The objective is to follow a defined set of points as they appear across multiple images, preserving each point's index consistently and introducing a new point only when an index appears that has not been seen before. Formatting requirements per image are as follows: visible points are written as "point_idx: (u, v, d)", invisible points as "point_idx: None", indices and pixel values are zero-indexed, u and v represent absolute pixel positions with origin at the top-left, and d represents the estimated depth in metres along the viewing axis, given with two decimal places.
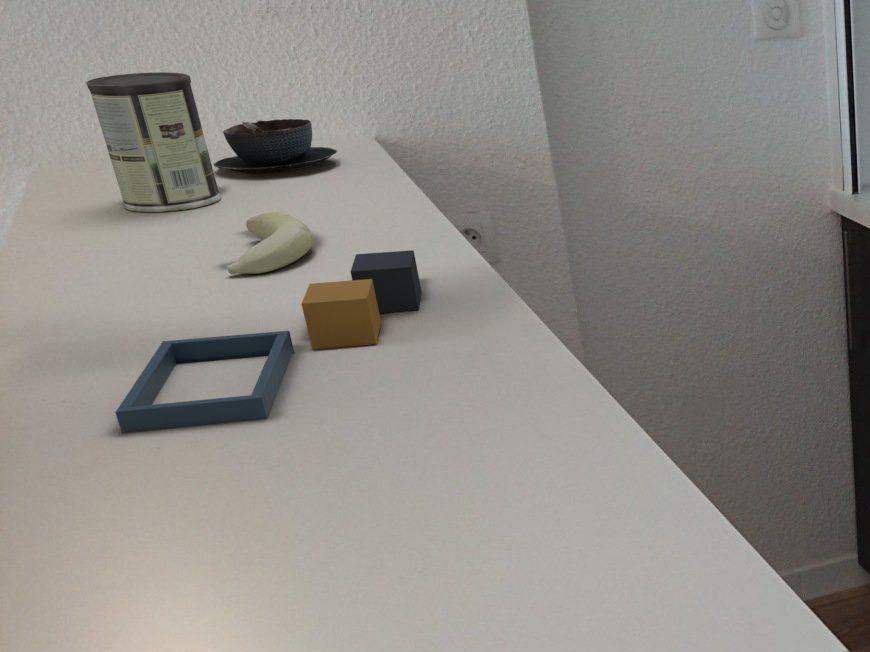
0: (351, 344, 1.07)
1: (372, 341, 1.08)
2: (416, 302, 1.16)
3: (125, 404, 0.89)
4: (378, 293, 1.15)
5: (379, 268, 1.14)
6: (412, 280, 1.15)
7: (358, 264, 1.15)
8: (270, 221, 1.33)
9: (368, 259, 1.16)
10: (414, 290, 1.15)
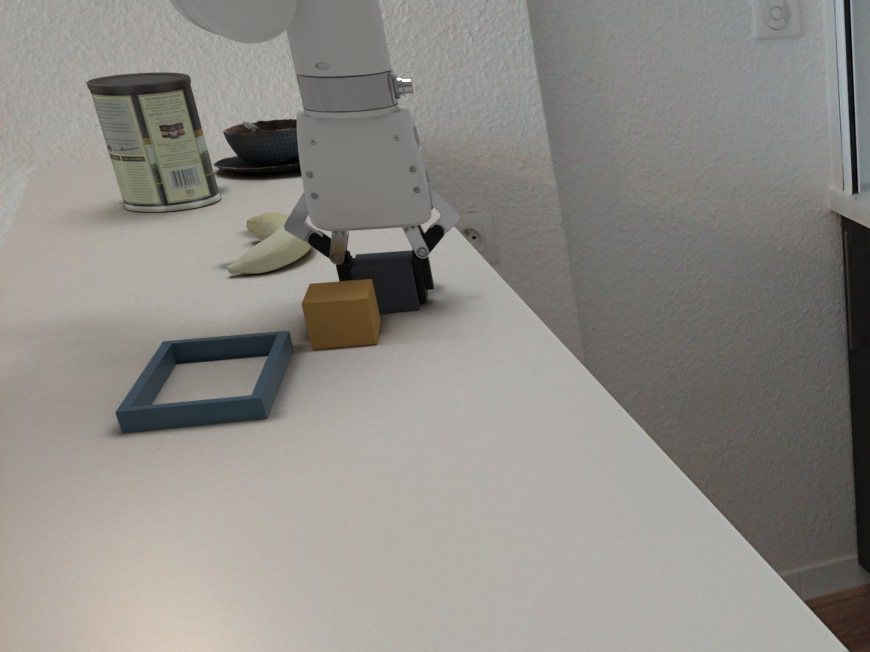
0: (351, 344, 1.07)
1: (372, 341, 1.08)
2: (416, 302, 1.16)
3: (125, 404, 0.89)
4: (378, 293, 1.15)
5: (379, 268, 1.14)
6: (412, 280, 1.15)
7: (358, 264, 1.15)
8: (270, 221, 1.33)
9: (368, 259, 1.16)
10: (414, 290, 1.15)
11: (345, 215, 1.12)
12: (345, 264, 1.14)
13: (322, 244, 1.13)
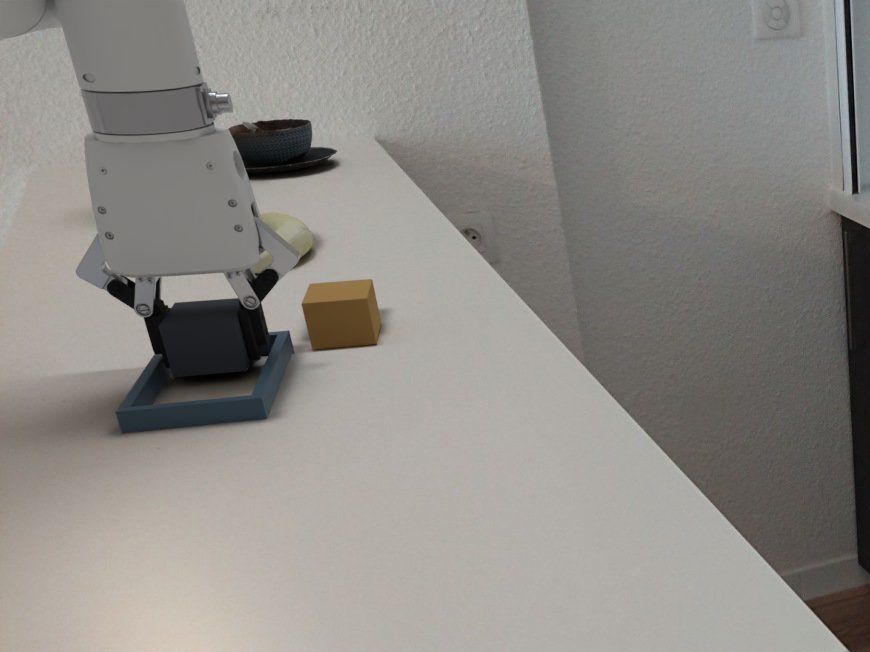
0: (351, 344, 1.07)
1: (372, 341, 1.08)
2: (243, 362, 0.96)
3: (125, 404, 0.89)
4: (195, 352, 0.95)
5: (195, 322, 0.94)
6: (237, 336, 0.95)
7: (172, 316, 0.95)
8: (270, 221, 1.33)
9: (186, 309, 0.97)
10: (240, 347, 0.96)
11: (150, 259, 0.92)
12: (154, 317, 0.95)
13: (125, 293, 0.94)
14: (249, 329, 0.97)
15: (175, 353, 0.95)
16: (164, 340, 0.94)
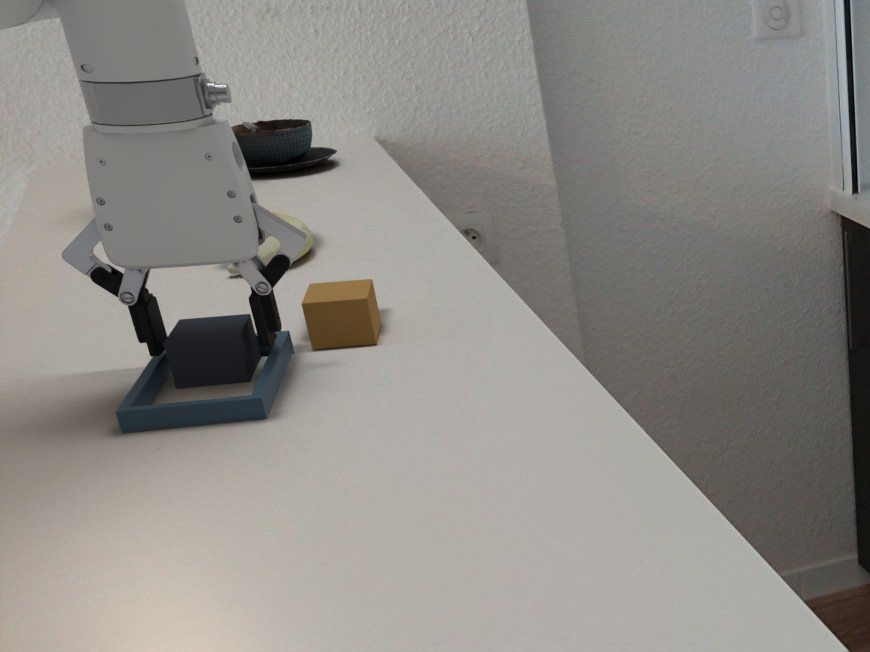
0: (351, 344, 1.07)
1: (372, 341, 1.08)
2: (247, 378, 0.97)
3: (125, 404, 0.89)
4: (200, 368, 0.96)
5: (200, 339, 0.95)
6: (241, 352, 0.96)
7: (176, 333, 0.96)
8: None
9: (191, 326, 0.97)
10: (244, 364, 0.97)
11: (149, 250, 0.92)
12: (138, 305, 0.94)
13: (108, 282, 0.93)
14: (261, 315, 0.97)
15: (180, 370, 0.95)
16: (169, 357, 0.95)
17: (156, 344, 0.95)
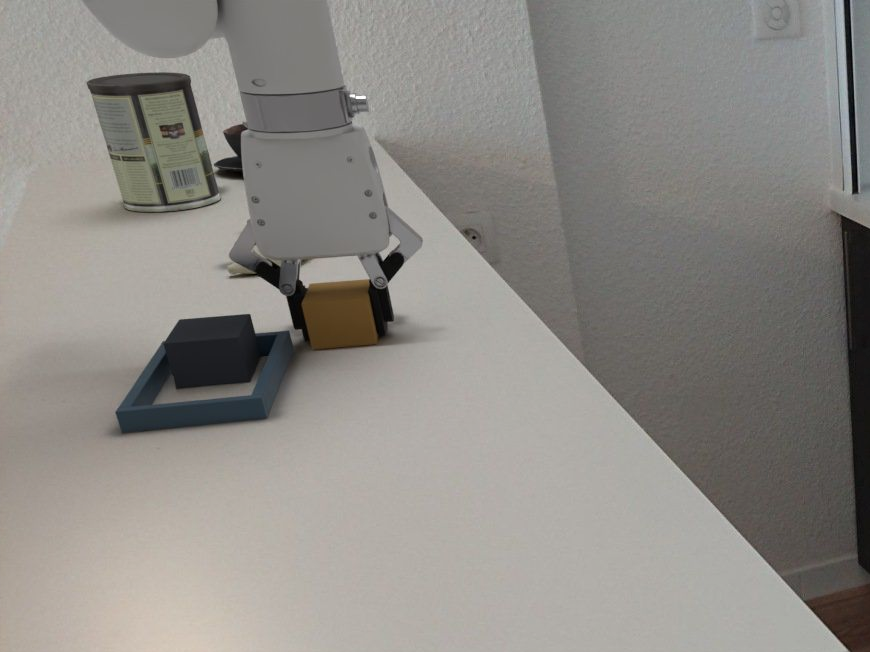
0: (351, 344, 1.07)
1: (372, 341, 1.08)
2: (247, 378, 0.97)
3: (125, 404, 0.89)
4: (200, 368, 0.96)
5: (200, 339, 0.95)
6: (241, 352, 0.96)
7: (176, 333, 0.96)
8: None
9: (191, 326, 0.97)
10: (244, 364, 0.97)
11: (295, 243, 1.03)
12: (296, 295, 1.06)
13: (271, 274, 1.05)
14: (378, 306, 1.08)
15: (180, 370, 0.95)
16: (169, 357, 0.95)
17: None
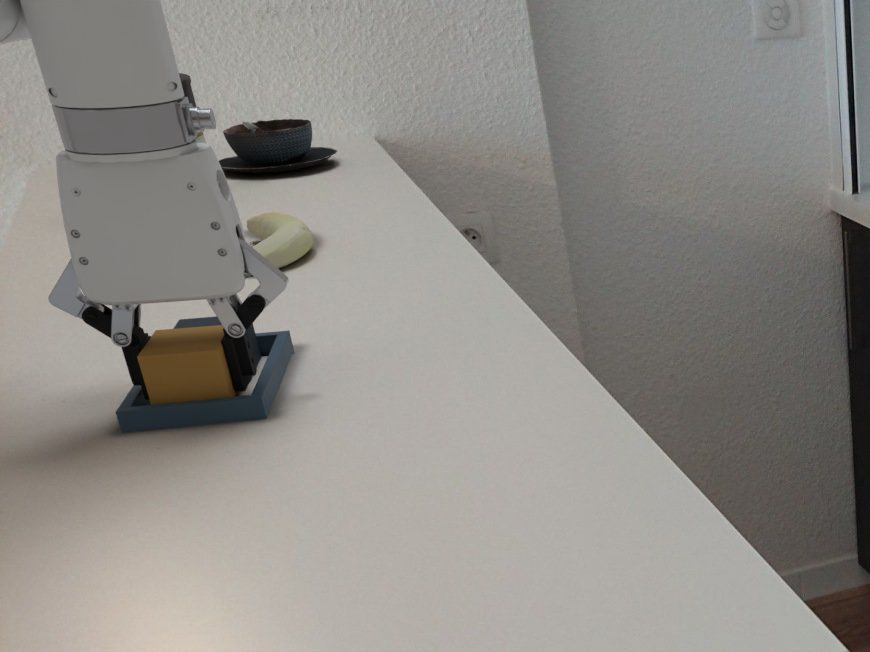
0: None
1: None
2: None
3: (125, 404, 0.89)
4: None
5: None
6: None
7: None
8: (271, 221, 1.33)
9: (191, 326, 0.97)
10: None
11: (127, 285, 0.86)
12: (132, 346, 0.89)
13: (101, 321, 0.88)
14: (234, 359, 0.91)
15: None
16: None
17: None
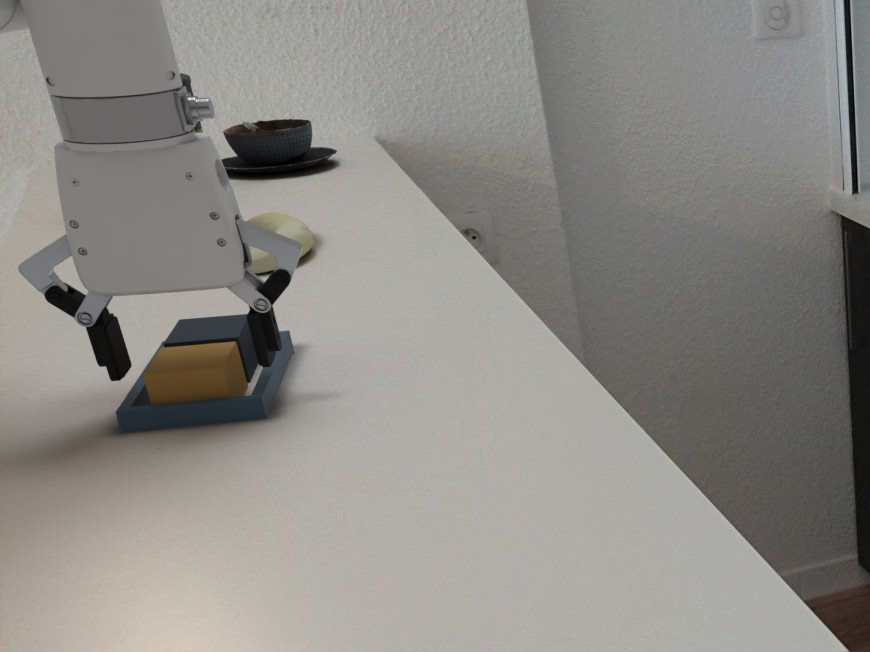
0: None
1: None
2: (247, 378, 0.97)
3: (125, 404, 0.89)
4: None
5: (200, 339, 0.95)
6: (241, 352, 0.96)
7: (176, 333, 0.96)
8: (271, 221, 1.33)
9: (191, 326, 0.97)
10: (244, 364, 0.97)
11: (126, 276, 0.86)
12: (97, 326, 0.87)
13: (63, 303, 0.87)
14: (260, 334, 0.91)
15: None
16: None
17: (117, 368, 0.89)
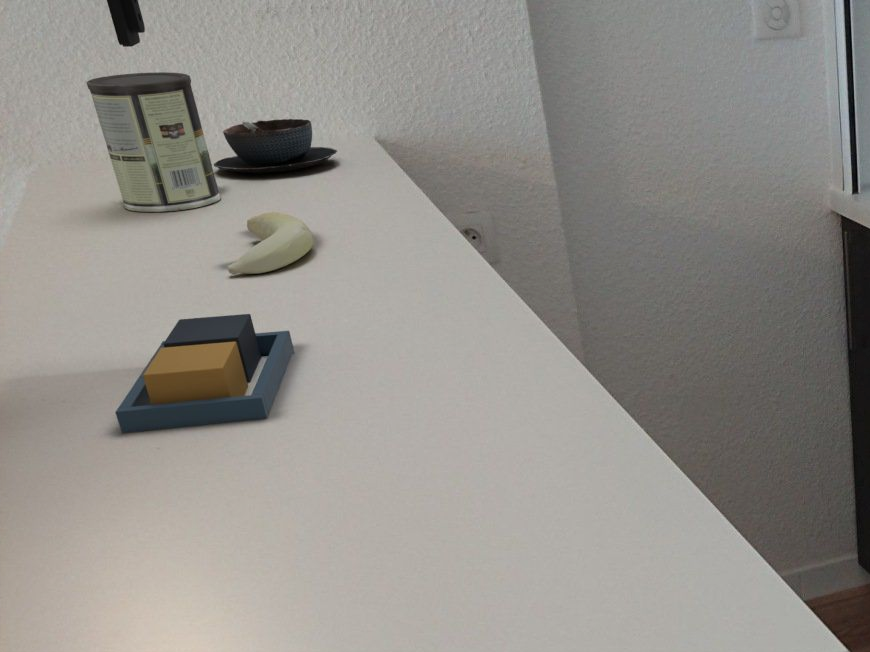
0: None
1: None
2: (247, 378, 0.97)
3: (125, 404, 0.89)
4: None
5: (200, 339, 0.95)
6: (241, 352, 0.96)
7: (176, 333, 0.96)
8: (271, 221, 1.33)
9: (191, 326, 0.97)
10: (244, 364, 0.97)
11: None
12: None
13: None
14: (118, 8, 0.89)
15: None
16: None
17: None
